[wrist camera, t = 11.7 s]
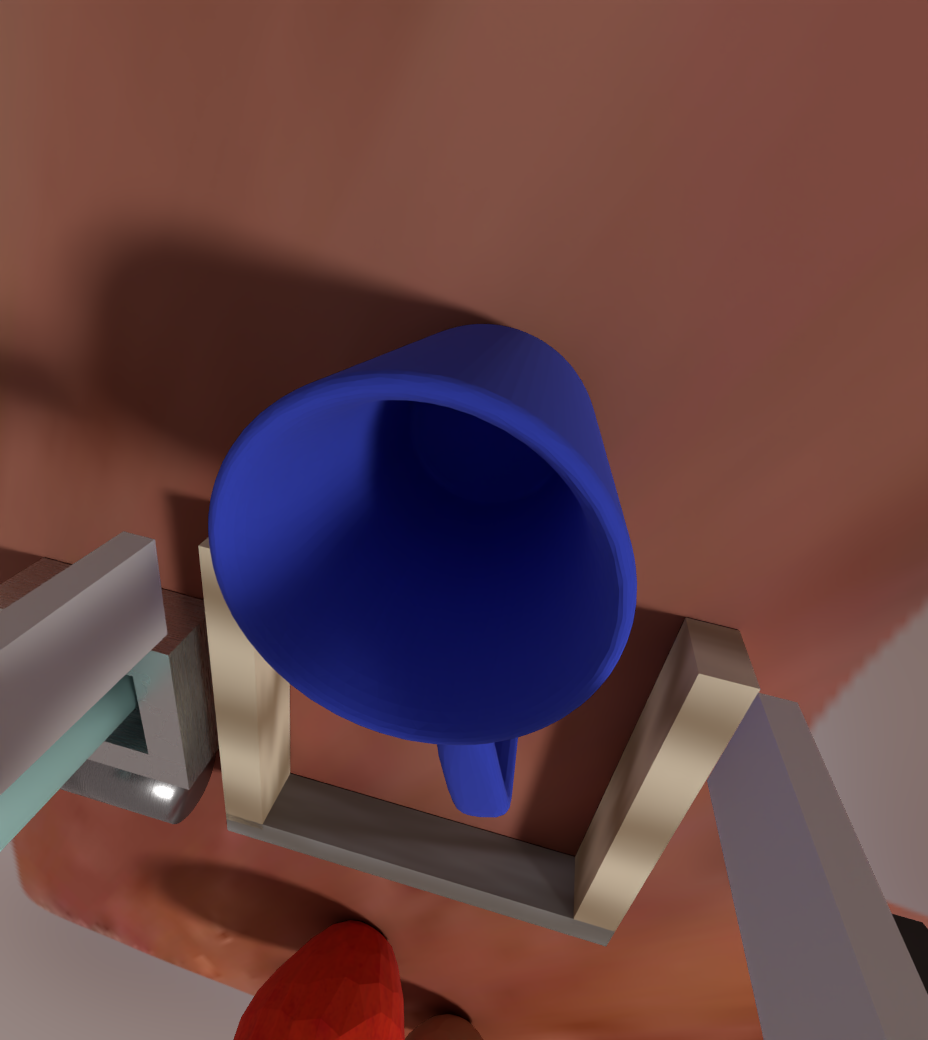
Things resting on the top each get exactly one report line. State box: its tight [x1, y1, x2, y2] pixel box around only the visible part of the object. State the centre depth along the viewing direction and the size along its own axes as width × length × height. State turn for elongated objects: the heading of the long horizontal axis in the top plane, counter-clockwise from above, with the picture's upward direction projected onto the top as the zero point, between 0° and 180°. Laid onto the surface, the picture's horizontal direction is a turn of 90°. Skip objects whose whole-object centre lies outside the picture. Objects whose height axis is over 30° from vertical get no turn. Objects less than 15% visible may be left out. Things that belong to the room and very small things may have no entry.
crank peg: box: [0, 675, 138, 852], centre depth 22 cm, size 3×8×13 cm, turn 81°
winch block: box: [0, 558, 219, 824], centre depth 28 cm, size 13×9×4 cm
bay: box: [198, 537, 760, 946], centre depth 25 cm, size 18×20×3 cm
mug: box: [208, 324, 637, 817], centre depth 15 cm, size 8×12×10 cm
